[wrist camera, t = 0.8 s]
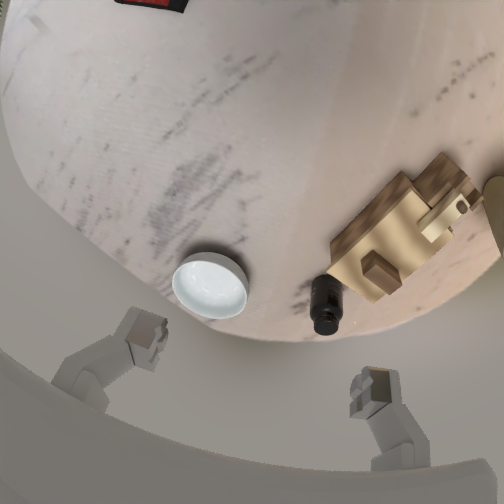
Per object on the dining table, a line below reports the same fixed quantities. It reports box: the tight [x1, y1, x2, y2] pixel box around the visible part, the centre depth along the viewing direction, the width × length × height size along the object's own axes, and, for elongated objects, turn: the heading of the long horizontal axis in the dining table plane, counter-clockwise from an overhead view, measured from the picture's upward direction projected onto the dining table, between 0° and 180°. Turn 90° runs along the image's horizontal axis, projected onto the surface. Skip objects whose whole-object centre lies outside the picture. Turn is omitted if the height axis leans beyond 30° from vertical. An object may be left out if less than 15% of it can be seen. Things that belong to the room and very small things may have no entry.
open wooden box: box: [330, 152, 484, 263], centre depth 44 cm, size 28×12×11 cm, turn 148°
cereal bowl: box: [172, 252, 249, 319], centre depth 63 cm, size 17×17×7 cm
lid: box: [326, 188, 454, 303], centre depth 44 cm, size 21×13×6 cm, turn 148°
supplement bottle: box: [310, 275, 343, 336], centre depth 58 cm, size 7×7×12 cm
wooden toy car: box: [417, 188, 470, 243], centre depth 37 cm, size 9×3×4 cm, turn 148°
